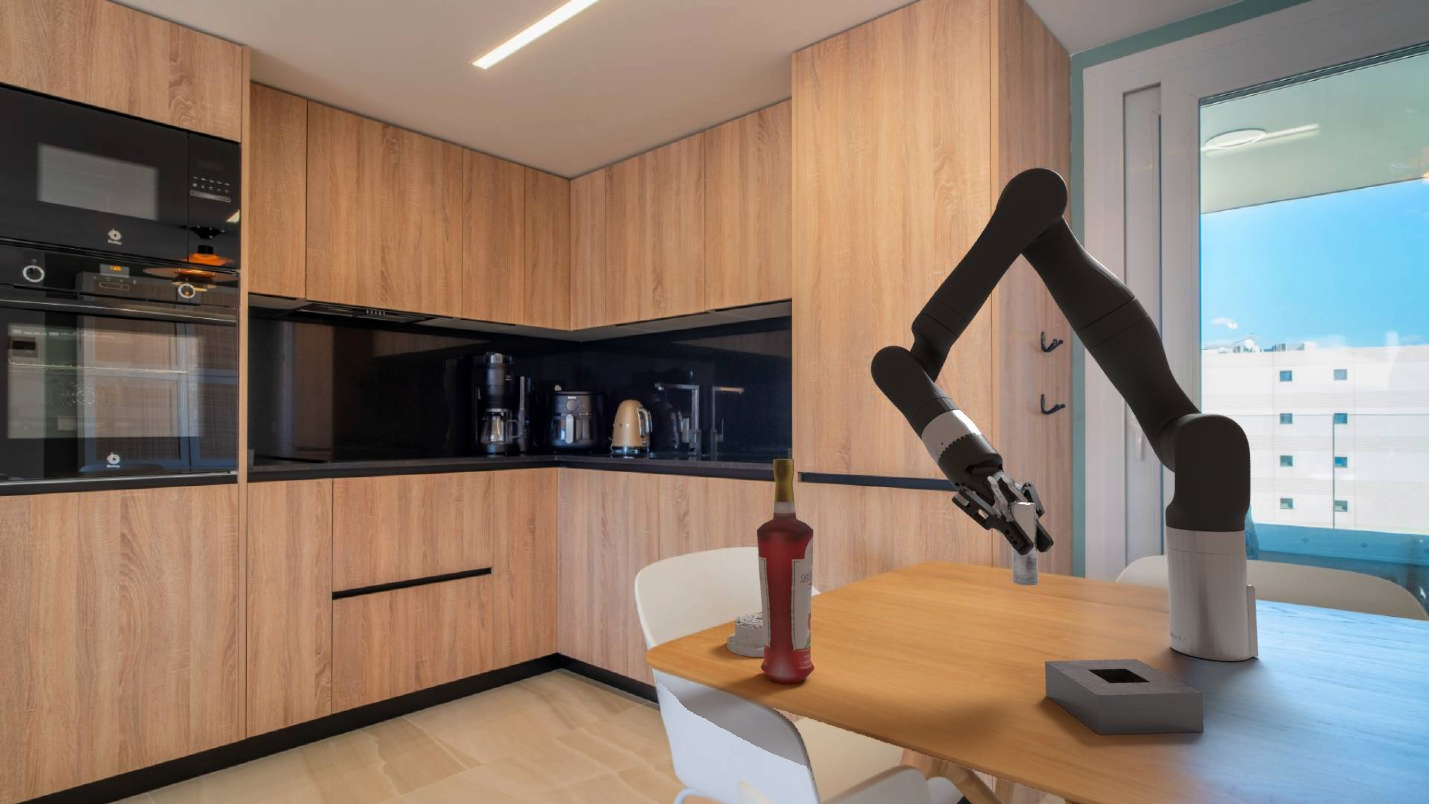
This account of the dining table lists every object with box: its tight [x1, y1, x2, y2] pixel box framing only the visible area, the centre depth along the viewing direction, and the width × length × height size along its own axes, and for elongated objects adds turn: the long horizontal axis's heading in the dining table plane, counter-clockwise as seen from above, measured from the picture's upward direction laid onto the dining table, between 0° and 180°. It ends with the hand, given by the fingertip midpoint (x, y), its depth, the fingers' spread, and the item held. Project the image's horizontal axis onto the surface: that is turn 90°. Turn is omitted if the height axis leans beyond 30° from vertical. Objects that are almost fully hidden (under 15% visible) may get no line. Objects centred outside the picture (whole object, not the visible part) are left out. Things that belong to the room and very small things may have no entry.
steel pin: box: [1010, 501, 1040, 586], centre depth 91 cm, size 3×3×10 cm
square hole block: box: [1044, 658, 1205, 736], centre depth 79 cm, size 11×11×4 cm
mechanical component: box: [726, 612, 764, 658], centre depth 105 cm, size 10×4×10 cm
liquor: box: [756, 458, 815, 685], centre depth 93 cm, size 7×7×28 cm
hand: (1038, 549), depth 89 cm, fingers closed on steel pin, 3 cm apart
